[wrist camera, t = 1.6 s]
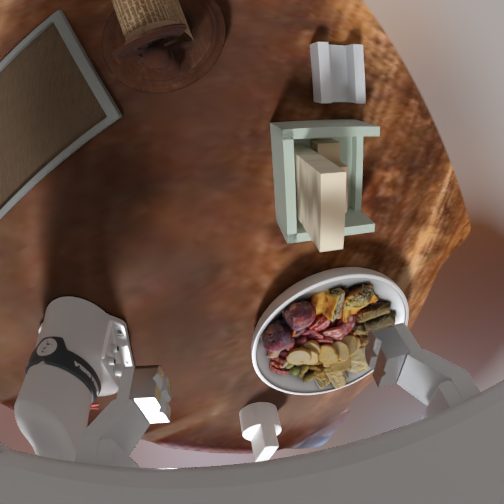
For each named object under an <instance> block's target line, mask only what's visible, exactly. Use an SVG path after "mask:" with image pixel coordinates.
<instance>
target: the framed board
mask: <svg viewBox="0 0 504 504" xmlns="http://www.w3.org/2000/svg"><path fill="white" fill-rule="evenodd" d="M121 117H122V114H121V112H120V110H119V108H118V107H117V105H116V103H115V102H114V100H113V98H112V97H111V95H110V93H109V92H108V90H107V88H106V87H105V85H104V83H103V82H102V80H101V78H100V76H99V75H98V73H97V71H96V70H95V68H94V66H93V64H92V63H91V61H90V59H89V57H88V56H87V54H86V52H85V50H84V49H83V47H82V45H81V43H80V42H79V40H78V38H77V36H76V34H75V33H74V31H73V29H72V27H71V25H70V24H69V22H68V20H67V18H66V16H65V14H64V13H63V11H61V10H57V11H56V12H55V13H53V14H52V15H51V16H50V17H48V18H47V19H46V20H45V21H44V22H42V23H41V24H40V25H39V26H38V27H37V28H35V29H34V30H33V31H32V32H31V33H30V34H29V35H28V36H27V37H25V38H24V39H23V40H22V41H21V42H20V43H19V44H18V45H17V46H16V47H15V48H14V49H13V50H12V51H11V52H10V53H9V54H8V55H7V56H6V57H5V58H4V59H3V60H2V61H1V62H0V219H1V218H2V217H3V216H4V215H5V214H6V213H7V212H8V211H9V210H10V209H11V208H12V207H13V206H14V205H15V204H16V203H17V202H18V201H19V200H20V199H21V198H22V197H23V196H24V195H25V194H26V193H27V192H28V191H29V190H31V189H32V188H33V187H34V186H35V185H36V184H37V183H38V182H39V181H40V180H42V179H43V178H44V177H45V176H46V175H47V174H48V173H49V172H51V171H52V170H53V169H54V168H55V167H56V166H58V165H59V164H60V163H61V162H62V161H64V160H65V159H66V158H67V157H69V156H70V155H71V154H72V153H74V152H75V151H76V150H77V149H79V148H80V147H81V146H82V145H84V144H85V143H86V142H88V141H89V140H90V139H92V138H93V137H94V136H96V135H97V134H98V133H100V132H101V131H103V130H104V129H105V128H107V127H108V126H110V125H111V124H112V123H114V122H115V121H117V120H118V119H120V118H121Z"/></svg>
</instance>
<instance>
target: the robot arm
mask: <svg viewBox="0 0 504 504" xmlns="http://www.w3.org/2000/svg"><path fill="white" fill-rule="evenodd" d="M119 330H120V331H119ZM367 338H368V340H369V342H368V343H367V345H366V347H365V358H366V362H367V364H368V366H369V367H370V368H371V369H373V370H374V372H373V377H374V379H375V381H376V384H377V386H378V387H382V386H386V385H389V384H393V383H397V384H398V385H399V386H401V387H402V388H404V389H405V390H406V391H408V392H409V393H410V394H412V395H413V396H414V397H416V398H417V399H419V400H420V401H421V402H422V403H424V404H425V405H427V408H426V409H425V411H424V413H423V414H422V416H421V420H418V421H416V422H413V423H410V424H408V425H405V426H403V427H399V428H397V429H394V430H391V431H388V432H385V433H382V434H379V435H375V436H372V437H369V438H366V439H362V440H359V441H355V442H352V443H348V444H344V445H341V446H336V447H332V448H328V449H324V450H320V451H315V452H311V453H306V454H301V455H296V456H291V457H285V458H279V459H273V460H266V461H259V462H251V463H244V464H234V465H223V466H210V467H194V468H193V467H191V468H139V465H138V464H137V463H136V462H135V461H134V460H133V459H131V457H129V455H130V454H131V452H132V451H133V449H134V448H135V446H136V445H137V443H138V442H139V440H140V439H141V437H142V436H143V434H144V433H145V431H146V430H147V428H148V427H149V425H150V424H149V423H166V422H170V407H169V405H168V402H169V401H170V400H171V386H170V383H169V380H168V378H167V377H166V376H164V370H163V368H162V366H161V365H149V366H134V361H133V356H132V351H131V346H130V341H129V336H128V331H127V325H126V323H125V322H124V321H123V320H121V319H119V318H117V317H114V316H111V315H109V314H107V313H106V312H105V311H103V310H102V309H101V308H99V307H98V306H96V305H95V304H93V303H91V302H89V301H87V300H84V299H81V298H78V297H70V296H67V297H60V298H57V299H55V300H53V301H52V302H51V303H50V304H49V305H48V307H47V309H46V312H45V317H44V321H43V323H42V324H41V325H40V328H39V337H38V340H37V343H36V346H35V349H34V351H33V352H32V355H31V357H30V359H29V361H28V363H27V367H26V376H25V379H24V381H23V384H22V387H21V389H20V392H19V394H18V397H17V400H16V403H15V406H14V412H15V418H16V422H17V424H18V427H19V429H20V430H21V432H22V433H23V434H24V436H25V437H26V438H27V439H28V441H29V442H30V444H31V445H32V447H33V449H34V451H35V453H36V455H33V454H28V453H24V452H20V451H16V450H12V449H11V448H9V447H8V446H6V445H4V444H3V443H1V442H0V504H504V380H503V381H501V382H499V383H497V384H496V385H494V386H492V387H490V388H488V389H486V390H484V391H483V392H480V391H479V389H478V387H477V386H476V384H475V383H474V381H473V379H472V378H471V376H470V375H469V373H468V372H467V371H466V370H464V369H462V368H460V367H458V366H456V365H454V364H453V363H451V362H449V361H447V360H445V359H443V358H441V357H439V356H437V355H435V354H433V353H432V352H430V351H428V350H426V349H422V350H421V348H420V346H419V345H418V343H417V342H416V340H415V339H414V337H413V336H412V334H411V333H410V331H409V329H408V328H407V326H406V325H405V324H404V323H400V324H396V325H392V326H387V327H384V328H380V329H376V330H372V331H370V332H369V333H368V337H367ZM116 392H118V394H117V399H113V400H112V401H111V403H110V404H109V405H108V406H107V407H106V408H105V409H104V410H103V411H102V412H101V413H100V414H99V415H98V417H97V418H96V419H95V420H94V421H93V422H92V423H91V424H90V425H89V426H88V427H87V423H88V416H89V411H90V409H98V408H97V407H92V406H97V405H99V403H93V402H94V401H95V399H96V398H97V396H106V395H111V394H114V393H116Z"/></svg>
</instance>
